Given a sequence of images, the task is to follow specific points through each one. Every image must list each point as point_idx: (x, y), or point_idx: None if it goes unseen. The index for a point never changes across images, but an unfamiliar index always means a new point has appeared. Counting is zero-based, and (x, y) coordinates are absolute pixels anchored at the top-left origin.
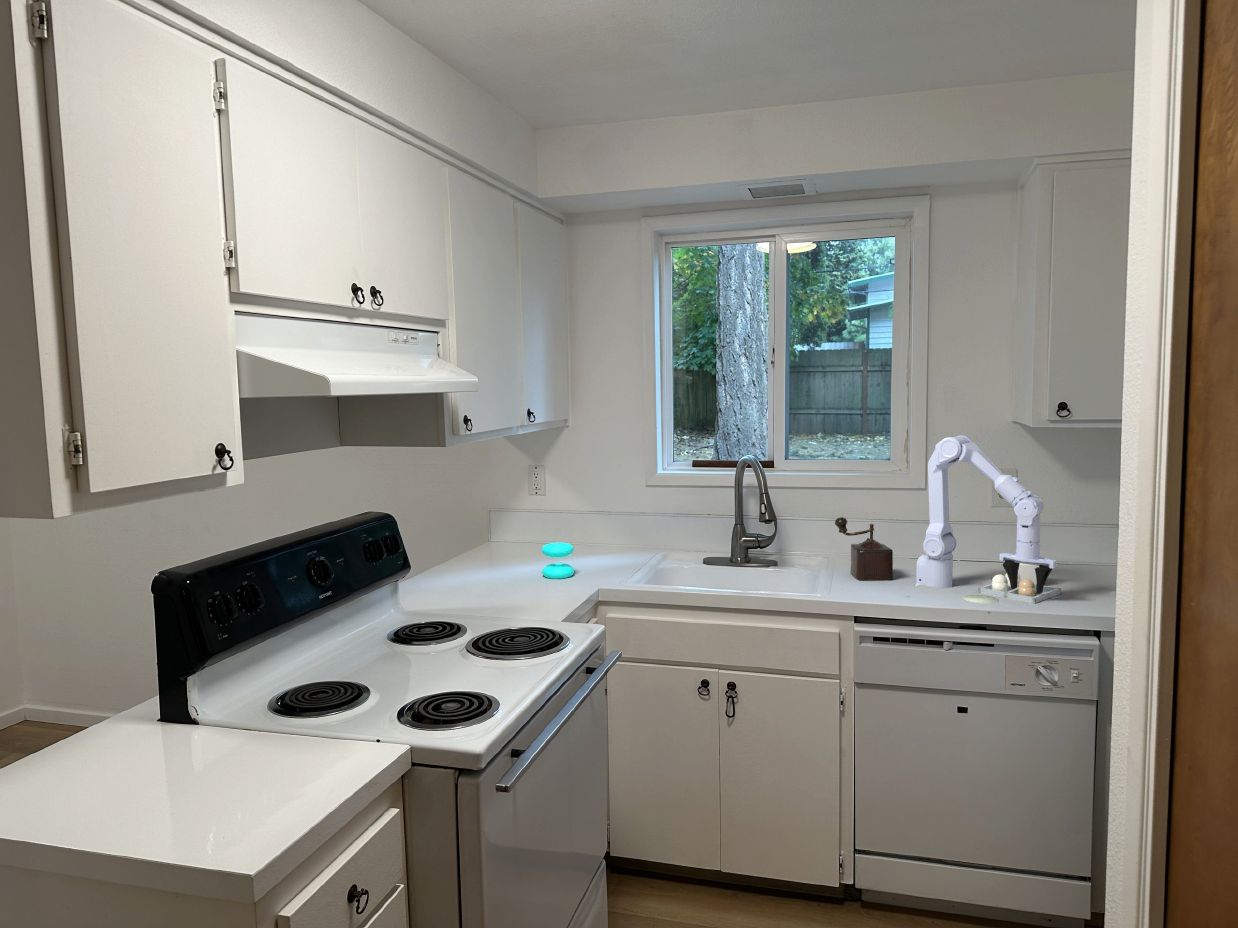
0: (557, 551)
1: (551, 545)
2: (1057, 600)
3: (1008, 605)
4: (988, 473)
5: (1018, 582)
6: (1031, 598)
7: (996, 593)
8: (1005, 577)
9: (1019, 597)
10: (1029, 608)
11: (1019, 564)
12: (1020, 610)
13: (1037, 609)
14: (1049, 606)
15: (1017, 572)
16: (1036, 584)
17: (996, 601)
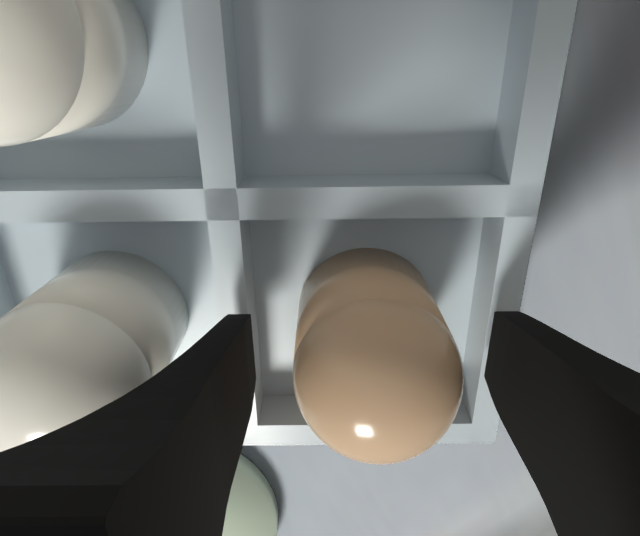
0: None
1: None
2: (573, 81)
3: (332, 477)
4: None
5: (109, 61)
6: (465, 436)
7: None
8: (100, 407)
9: None
10: (464, 457)
11: (141, 464)
12: (438, 521)
13: (514, 447)
14: (562, 329)
15: (200, 412)
16: (525, 463)
17: (266, 521)
